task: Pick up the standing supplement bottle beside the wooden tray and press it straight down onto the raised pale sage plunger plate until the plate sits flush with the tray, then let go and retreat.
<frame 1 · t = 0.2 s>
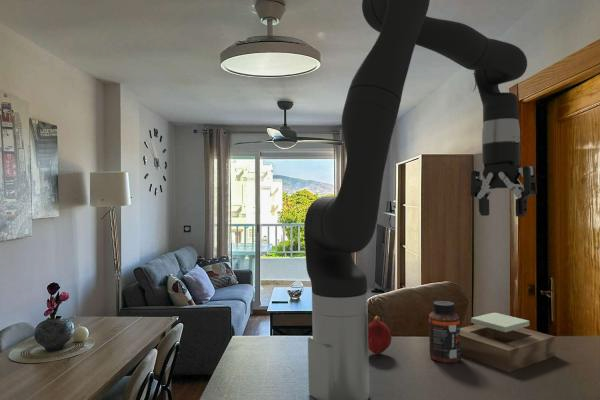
hand: (502, 216, 92), 28 cm above the kitchen counter, tool pointing down, fingers open, 8 cm apart
plunger plate: (499, 321, 88), point 7 cm above the kitchen counter, slide at 3.0 cm
supplement bottle: (445, 359, 85), on the kitchen counter
wooden tray: (500, 352, 88), on the kitchen counter
pomegranate: (377, 355, 88), on the kitchen counter
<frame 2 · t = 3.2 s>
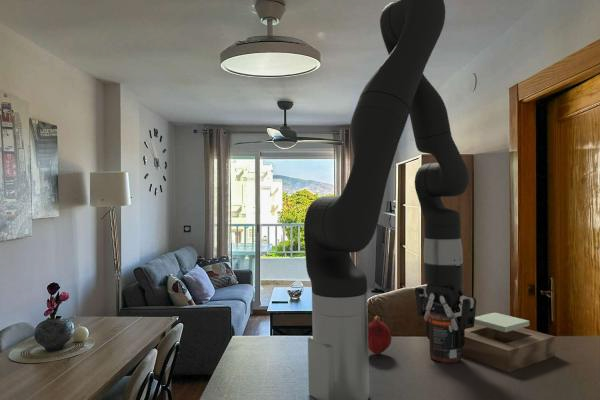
hand: (444, 343, 85), 3 cm above the kitchen counter, tool pointing down, fingers closed on supplement bottle, 6 cm apart
supplement bottle: (445, 359, 85), on the kitchen counter, touching gripper
everything else where it was.
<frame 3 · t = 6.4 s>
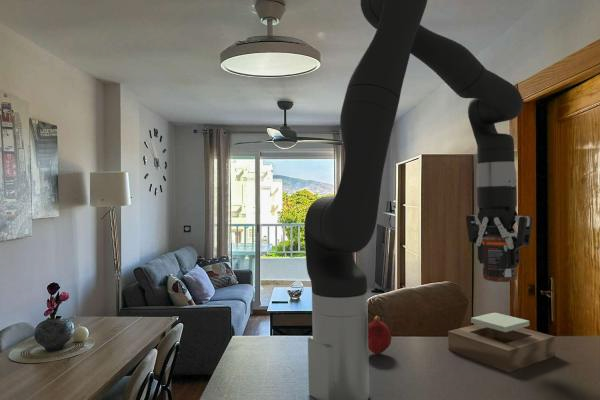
hand: (498, 265, 88), 18 cm above the kitchen counter, tool pointing down, fingers closed on supplement bottle, 6 cm apart
supplement bottle: (498, 281, 88), point 15 cm above the kitchen counter, touching gripper
everything else where it was.
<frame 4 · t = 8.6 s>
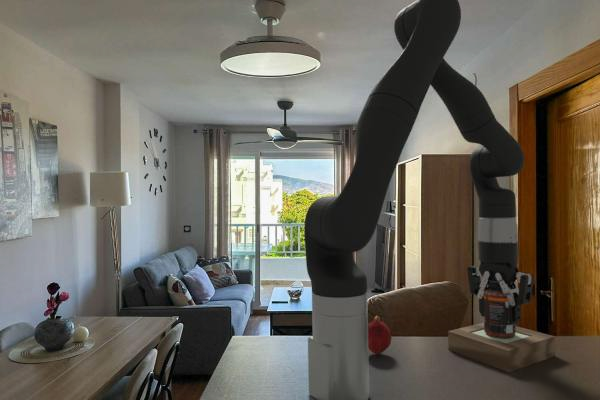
hand: (499, 319, 88), 7 cm above the kitchen counter, tool pointing down, fingers closed on supplement bottle, 6 cm apart
plunger plate: (500, 336, 88), point 3 cm above the kitchen counter, slide at -0.2 cm, touching supplement bottle
supplement bottle: (499, 335, 88), point 4 cm above the kitchen counter, touching gripper, plunger plate
everything else where it was.
when the fingers open (7 cm above the kitchen counter, at t = 9.8 s): supplement bottle stays where it is, resting on plunger plate.
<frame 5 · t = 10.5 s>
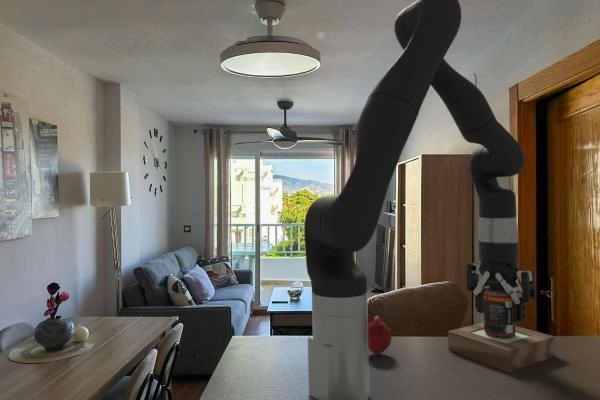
hand: (499, 317, 88), 7 cm above the kitchen counter, tool pointing down, fingers open, 8 cm apart
supplement bottle: (499, 335, 88), point 4 cm above the kitchen counter, touching plunger plate
everything else where it was.
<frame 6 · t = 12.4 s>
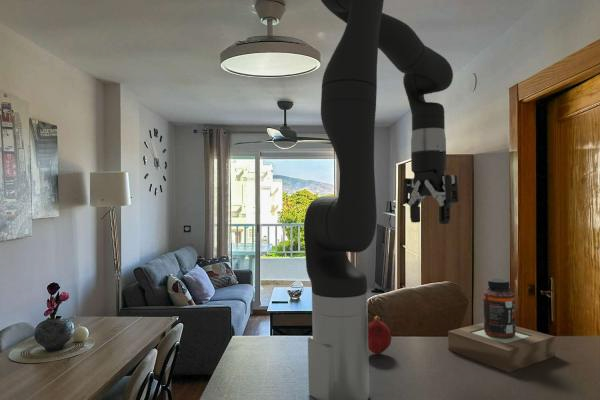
hand: (429, 223, 94), 27 cm above the kitchen counter, tool pointing down, fingers open, 8 cm apart
nothing on the kitchen counter moved.
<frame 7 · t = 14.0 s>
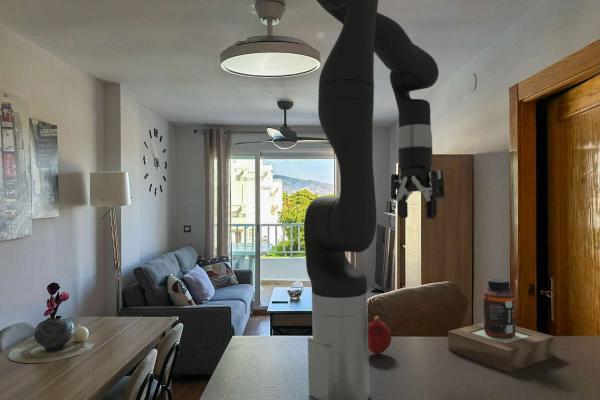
hand: (416, 218, 95), 28 cm above the kitchen counter, tool pointing down, fingers open, 8 cm apart
nothing on the kitchen counter moved.
at the end: plunger plate slide at -0.2 cm; supplement bottle 0.1 cm off-centre on the wooden tray, point 3.6 cm above the wooden tray's base; supplement bottle tilted 0° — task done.
